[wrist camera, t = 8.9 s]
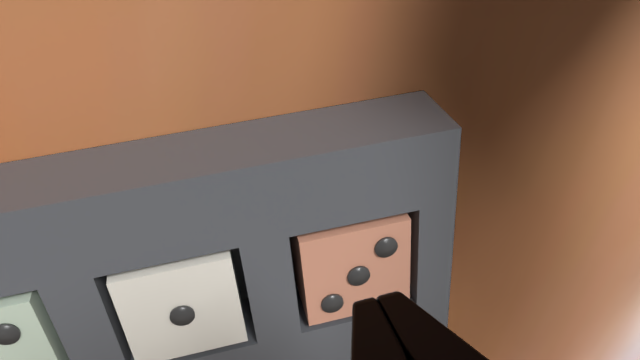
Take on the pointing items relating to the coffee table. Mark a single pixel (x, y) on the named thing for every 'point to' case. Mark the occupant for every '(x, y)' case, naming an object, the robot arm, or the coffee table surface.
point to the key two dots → (28, 330)
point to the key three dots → (351, 265)
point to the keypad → (231, 217)
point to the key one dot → (179, 306)
